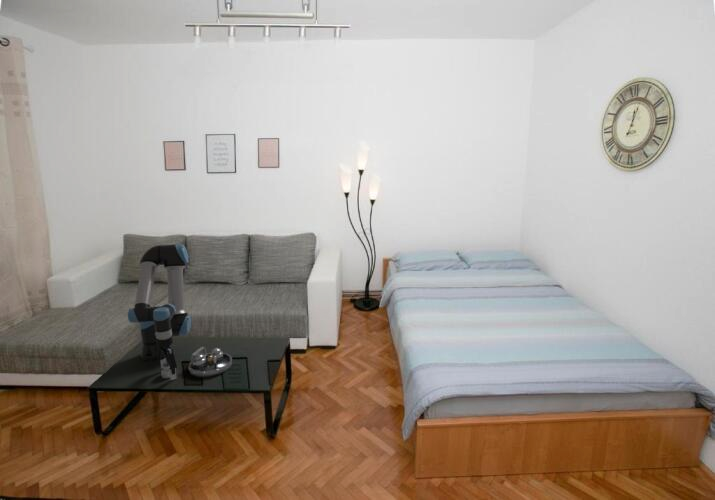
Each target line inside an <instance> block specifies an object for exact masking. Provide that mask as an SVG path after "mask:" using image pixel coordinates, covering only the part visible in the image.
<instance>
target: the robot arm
mask: <svg viewBox="0 0 715 500" xmlns="http://www.w3.org/2000/svg"><path fill="white" fill-rule="evenodd" d="M186 264H189V254H188V250H187V248H186V246H185V245H184V244H179V243H178V244H164V245H162V244H160V245H154V246H152V247H150V248H149V249H147V250H146V251H145V252H144V254H143V255H142V256H141V259H140V262H139V268H140V272H139V278H138V279H139V280H138V284H137V291H136V294H135V295H136V296H135V301H134V306H133V308H129V309H128V311H127V319H128V321H129V323H133V324H135V323H137V324H138V323H139V326H140V327H139V330H140V334H141V342H142V345H141V350H140V358H141V360H143V361H156V360H159V362H160V368H163V365H164V364H165V363H168V364H169V367H170V368H169V370H170V378H169V379H170V381H174V380H176V379H177V368H178V366H177V362H176V358H175V355H174V349H173V348H172V347H171V345H172V344H173V343H174V339H173V337H181V336H182V337H183V336H187V335H188V334H189V333H190V330H191V325H192V316H191V315H190V314H188V311H187V310H186V309H185V285H184V269H185V268H186ZM159 266H163V268H164V269H165V270H166V274H167V276H166V277H167V296H168V297H167V301H168V303H165V304H163V305H161V306H158V305H157V306H151V303H152V297H153V290H154V284H155V283H154V282H155V276H156V271H157V270H158V269H159ZM175 368H176V369H175Z"/></svg>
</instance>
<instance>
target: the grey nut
mask: <svg viewBox="0 0 715 500" xmlns="http://www.w3.org/2000/svg"><path fill="white" fill-rule="evenodd" d="M160 368H161V367H160ZM169 368H170V367H169V364H168V362H166V363H165V364H164V365H163V368H161V369H160V373H161V377H162V379H171V378H170V370H169ZM175 369H176V370H177V368H175Z"/></svg>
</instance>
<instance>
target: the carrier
mask: <svg viewBox="0 0 715 500" xmlns="http://www.w3.org/2000/svg"><path fill="white" fill-rule="evenodd" d="M192 361H193V367H191V361H189V364H188V371H189V374H190V375H191V376H193V377H196V378H211V377H212V378H213V377H216V376H219V375H221V374H224V373H225V372H227V371H228V370H229V369H231V367H232V364H233V357H232V355H230V354H229V353H227V352H224V351H223V350H221V348H220V347H215V348H213V349H211V352H206V355H203V354H197V355H195V356H194V360H192Z"/></svg>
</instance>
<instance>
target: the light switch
mask: <svg viewBox="0 0 715 500" xmlns="http://www.w3.org/2000/svg"><path fill="white" fill-rule="evenodd" d="M197 354H203V355H206V354H207V349H206V347H204V346H201V347H200V348H198V349H197V350H196V351H194V352H193V353H192V354H191V355H190V362H191V367H193V361H192V360H194V356H195V355H197Z"/></svg>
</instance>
